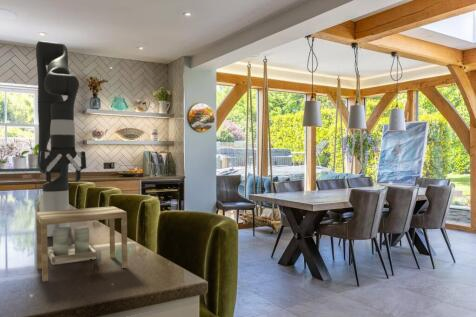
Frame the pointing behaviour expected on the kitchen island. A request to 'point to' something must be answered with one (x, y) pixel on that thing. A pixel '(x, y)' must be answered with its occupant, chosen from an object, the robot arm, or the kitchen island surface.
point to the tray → (70, 246)
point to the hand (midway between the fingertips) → (63, 182)
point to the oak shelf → (78, 216)
